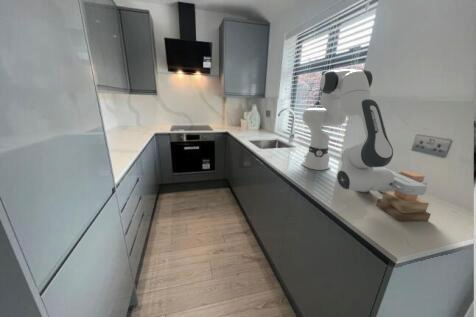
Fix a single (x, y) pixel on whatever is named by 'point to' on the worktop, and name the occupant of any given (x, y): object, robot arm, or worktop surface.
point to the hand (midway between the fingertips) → (412, 179)
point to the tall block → (412, 176)
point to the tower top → (405, 203)
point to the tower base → (402, 216)
